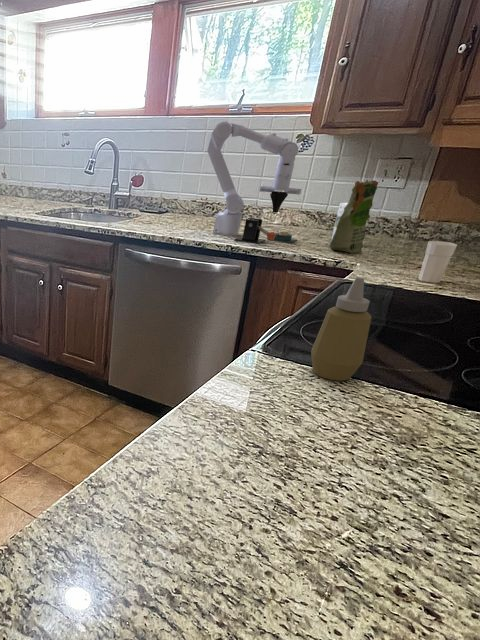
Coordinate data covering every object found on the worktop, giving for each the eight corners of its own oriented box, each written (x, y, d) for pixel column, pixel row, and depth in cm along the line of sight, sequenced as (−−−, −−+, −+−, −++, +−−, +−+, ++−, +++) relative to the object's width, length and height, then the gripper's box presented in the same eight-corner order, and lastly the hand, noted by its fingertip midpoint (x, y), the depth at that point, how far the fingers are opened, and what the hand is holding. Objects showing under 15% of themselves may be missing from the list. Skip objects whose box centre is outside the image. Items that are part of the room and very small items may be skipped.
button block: (266, 241, 205) (268, 233, 204) (272, 239, 209) (273, 231, 208) (291, 245, 200) (293, 237, 198) (296, 242, 204) (298, 235, 202)
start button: (277, 235, 203) (278, 230, 203) (280, 234, 205) (281, 229, 205) (285, 236, 201) (286, 231, 201) (288, 235, 203) (289, 230, 203)
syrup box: (352, 242, 205) (363, 204, 199) (337, 242, 205) (348, 204, 199) (344, 239, 210) (354, 202, 204) (329, 239, 210) (339, 202, 204)
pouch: (357, 249, 194) (378, 178, 184) (368, 256, 184) (391, 181, 174) (323, 246, 197) (342, 177, 187) (333, 253, 187) (353, 180, 176)
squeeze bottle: (338, 365, 99) (367, 271, 91) (367, 384, 91) (401, 284, 84) (296, 365, 99) (322, 271, 91) (322, 384, 91) (352, 284, 84)
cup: (416, 276, 159) (428, 240, 155) (443, 280, 156) (457, 243, 151) (414, 280, 155) (427, 243, 150) (442, 284, 151) (456, 246, 146)
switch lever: (273, 240, 198) (278, 234, 197) (270, 242, 196) (275, 235, 195) (249, 225, 203) (254, 218, 201) (246, 225, 201) (251, 219, 199)
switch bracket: (265, 242, 203) (270, 219, 199) (257, 245, 198) (262, 222, 194) (241, 239, 209) (246, 216, 205) (233, 242, 203) (238, 219, 200)
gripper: (306, 176, 199) (298, 213, 205) (267, 173, 208) (260, 209, 214) (301, 177, 194) (292, 214, 200) (260, 174, 203) (253, 210, 209)
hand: (275, 212), depth 206 cm, fingers closed
